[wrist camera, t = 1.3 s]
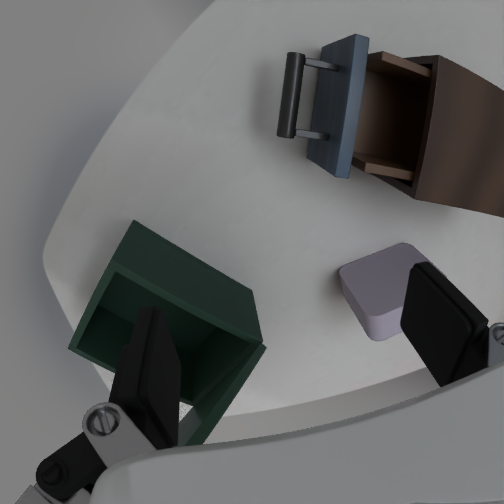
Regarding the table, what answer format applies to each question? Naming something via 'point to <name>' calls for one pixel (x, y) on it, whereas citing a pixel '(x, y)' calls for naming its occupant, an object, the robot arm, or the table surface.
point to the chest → (170, 311)
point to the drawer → (359, 109)
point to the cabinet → (459, 141)
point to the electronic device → (380, 288)
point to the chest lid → (216, 402)
